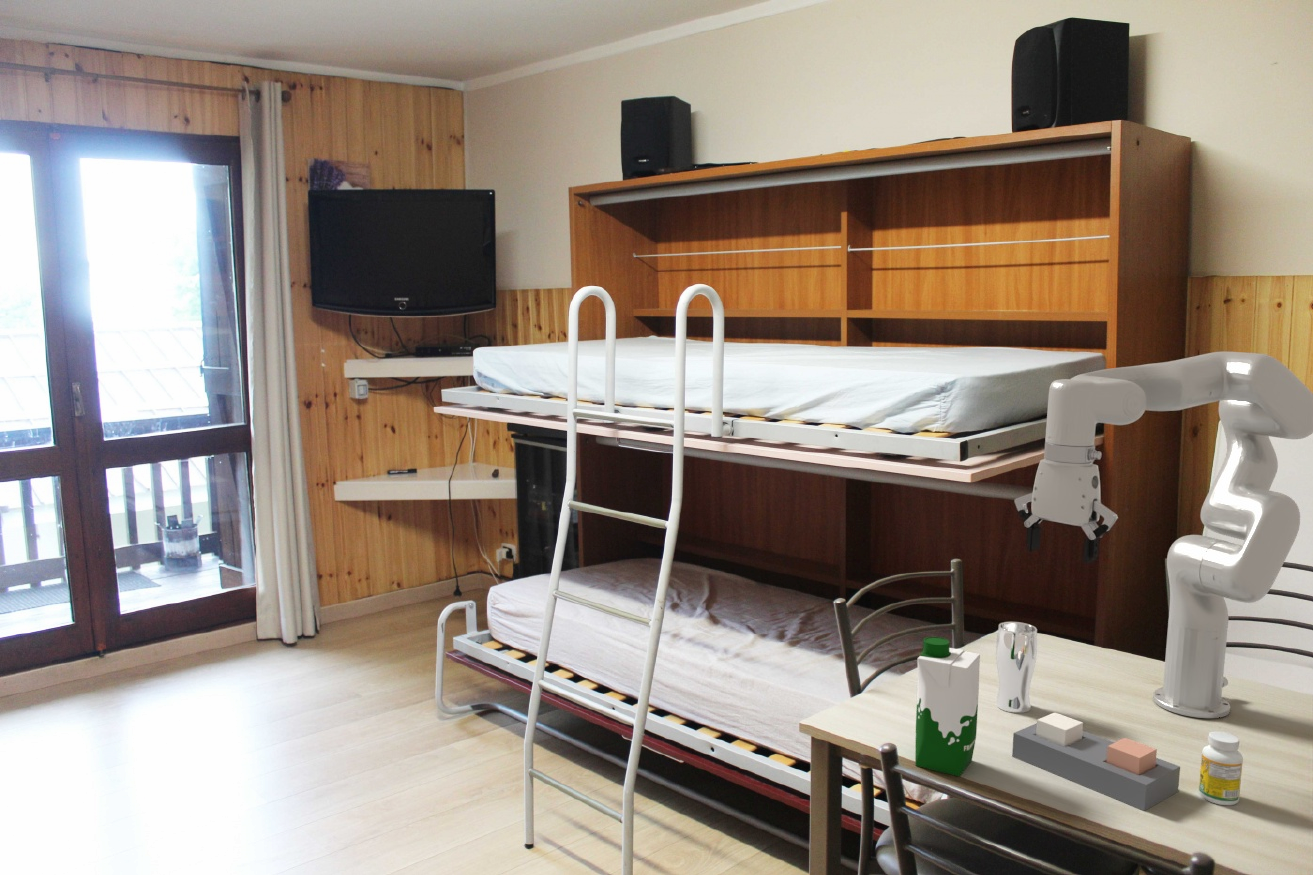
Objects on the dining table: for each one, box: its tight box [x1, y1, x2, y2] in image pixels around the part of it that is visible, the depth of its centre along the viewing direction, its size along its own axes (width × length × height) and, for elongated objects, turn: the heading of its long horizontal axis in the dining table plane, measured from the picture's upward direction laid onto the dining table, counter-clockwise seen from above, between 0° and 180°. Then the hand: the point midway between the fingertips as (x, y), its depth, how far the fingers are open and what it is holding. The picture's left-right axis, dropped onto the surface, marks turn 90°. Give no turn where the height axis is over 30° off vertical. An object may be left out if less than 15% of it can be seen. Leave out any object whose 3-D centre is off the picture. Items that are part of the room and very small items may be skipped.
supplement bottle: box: [1198, 730, 1244, 806], centre depth 154 cm, size 5×5×10 cm
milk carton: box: [914, 636, 981, 778], centre depth 163 cm, size 9×9×20 cm
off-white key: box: [1036, 712, 1084, 747], centre depth 166 cm, size 5×5×4 cm
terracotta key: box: [1106, 737, 1158, 776], centre depth 156 cm, size 5×5×4 cm
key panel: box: [1011, 722, 1181, 812], centre depth 161 cm, size 10×22×4 cm, turn 37°
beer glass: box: [995, 621, 1038, 714], centre depth 187 cm, size 7×7×15 cm
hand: (1060, 555), depth 172 cm, fingers open, 9 cm apart
